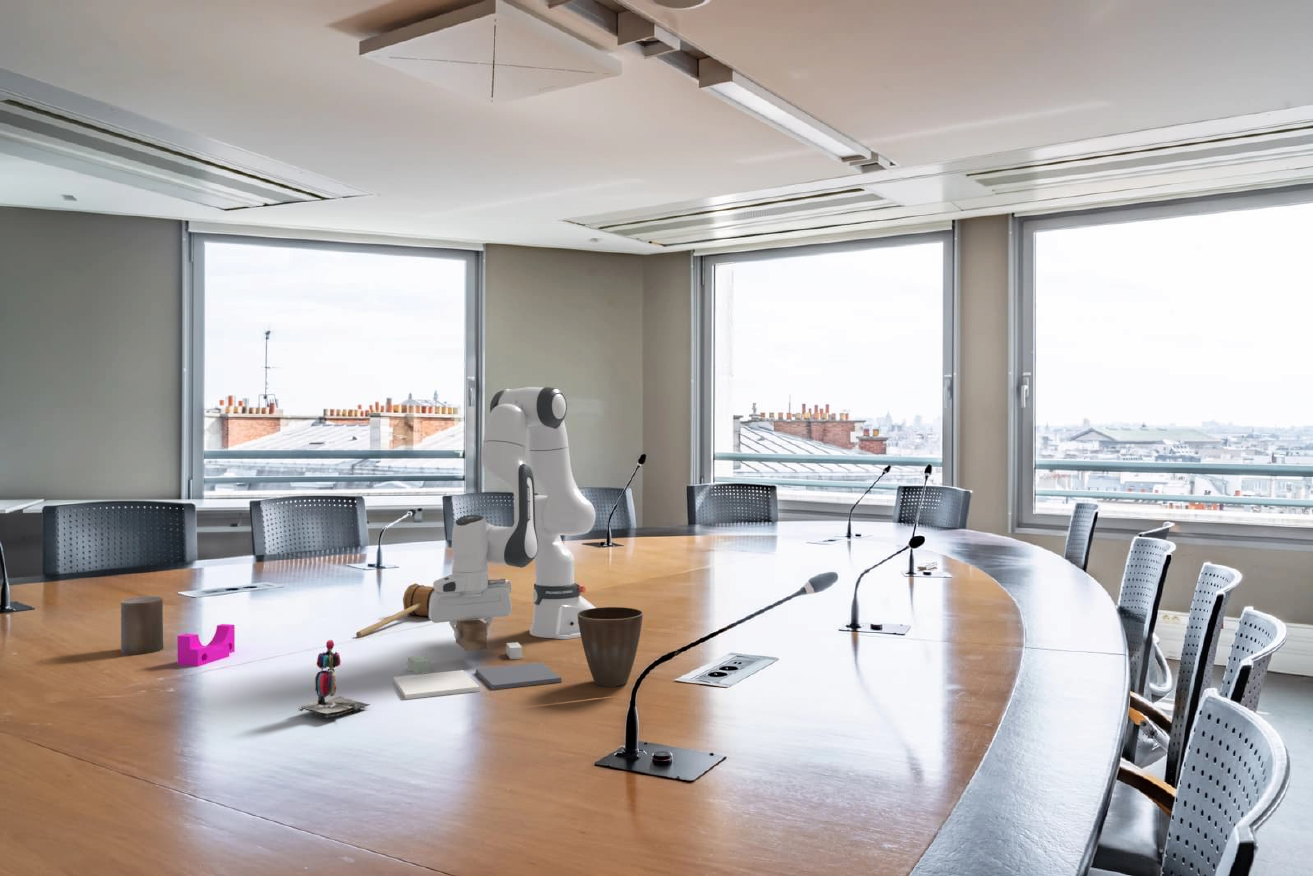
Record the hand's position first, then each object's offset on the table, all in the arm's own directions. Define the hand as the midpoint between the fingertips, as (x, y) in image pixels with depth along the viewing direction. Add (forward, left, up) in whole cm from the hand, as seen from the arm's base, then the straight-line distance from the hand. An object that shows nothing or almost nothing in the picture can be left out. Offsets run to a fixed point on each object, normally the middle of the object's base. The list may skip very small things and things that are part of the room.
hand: (470, 636), depth 237 cm
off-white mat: (+13, +19, -6) cm, 24 cm away
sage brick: (+14, +3, -7) cm, 15 cm away
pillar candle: (+76, -45, -7) cm, 88 cm away
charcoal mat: (-6, +19, -6) cm, 21 cm away
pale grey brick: (-11, -2, -7) cm, 13 cm away
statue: (+35, +31, -7) cm, 47 cm away
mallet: (+8, -52, -8) cm, 53 cm away
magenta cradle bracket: (+59, -29, -7) cm, 66 cm away
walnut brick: (0, 0, -2) cm, 2 cm away
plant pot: (-24, +32, -7) cm, 41 cm away
